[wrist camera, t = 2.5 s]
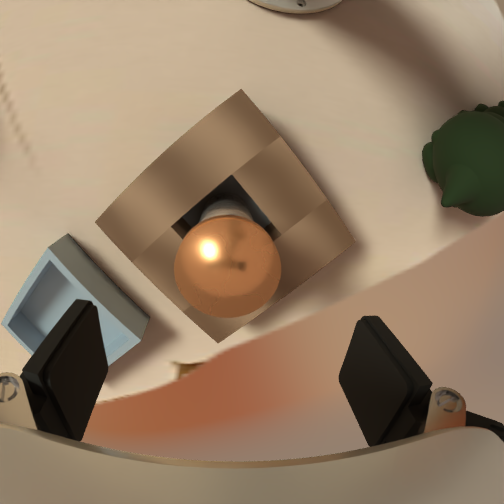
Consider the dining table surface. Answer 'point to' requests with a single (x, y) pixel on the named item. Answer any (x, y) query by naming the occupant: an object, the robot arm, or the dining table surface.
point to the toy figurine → (469, 160)
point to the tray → (65, 293)
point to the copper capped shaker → (227, 261)
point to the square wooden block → (226, 181)
